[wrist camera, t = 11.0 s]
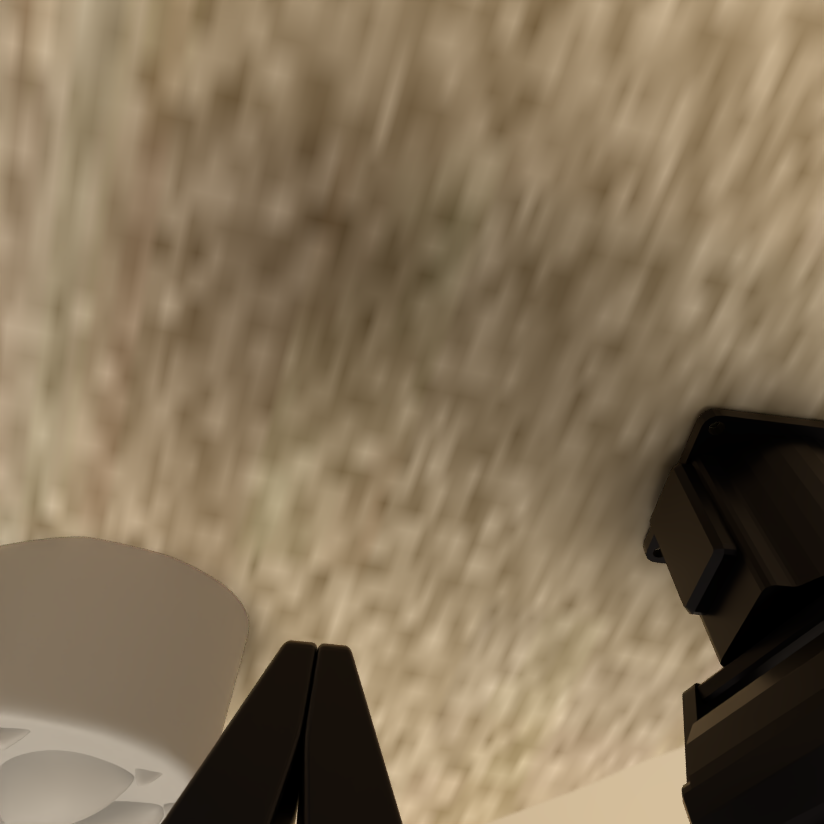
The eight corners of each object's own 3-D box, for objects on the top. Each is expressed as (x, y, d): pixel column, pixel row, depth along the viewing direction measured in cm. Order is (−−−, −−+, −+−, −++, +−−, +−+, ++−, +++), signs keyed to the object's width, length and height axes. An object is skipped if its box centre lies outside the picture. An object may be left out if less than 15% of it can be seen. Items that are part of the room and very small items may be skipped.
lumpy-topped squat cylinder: (-116, 565, 27) (-320, 789, 19) (193, 511, 25) (97, 735, 18) (24, 719, 32) (-93, 938, 25) (285, 684, 30) (242, 909, 23)
